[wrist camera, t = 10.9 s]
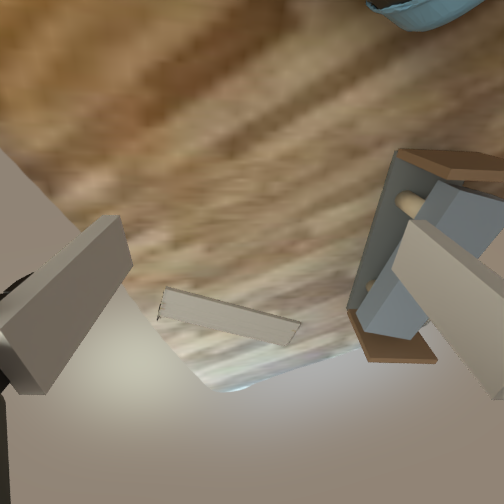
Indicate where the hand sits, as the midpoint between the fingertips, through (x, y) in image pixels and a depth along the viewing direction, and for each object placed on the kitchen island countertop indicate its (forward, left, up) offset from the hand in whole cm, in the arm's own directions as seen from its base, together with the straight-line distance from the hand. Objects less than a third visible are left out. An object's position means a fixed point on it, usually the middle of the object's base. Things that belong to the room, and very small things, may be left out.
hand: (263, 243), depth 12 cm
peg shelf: (+17, +27, -32) cm, 45 cm away
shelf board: (+17, +27, -26) cm, 41 cm away
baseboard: (+38, -4, -32) cm, 50 cm away
